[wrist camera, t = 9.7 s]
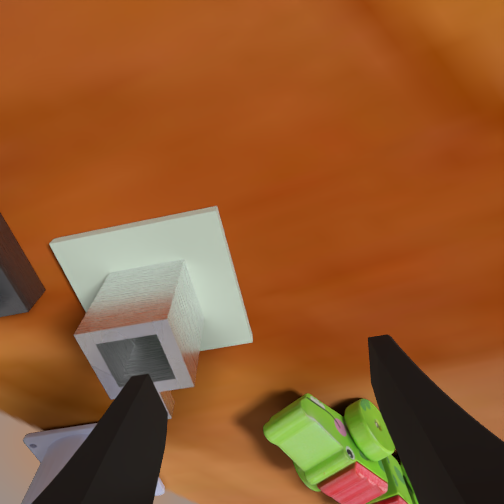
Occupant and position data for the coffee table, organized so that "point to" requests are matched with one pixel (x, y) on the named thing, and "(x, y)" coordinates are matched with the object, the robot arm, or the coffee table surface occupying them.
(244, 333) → the set down mat
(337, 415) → the toy crocodile
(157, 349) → the hollow square tube
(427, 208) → the coffee table surface
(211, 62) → the coffee table surface
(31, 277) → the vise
